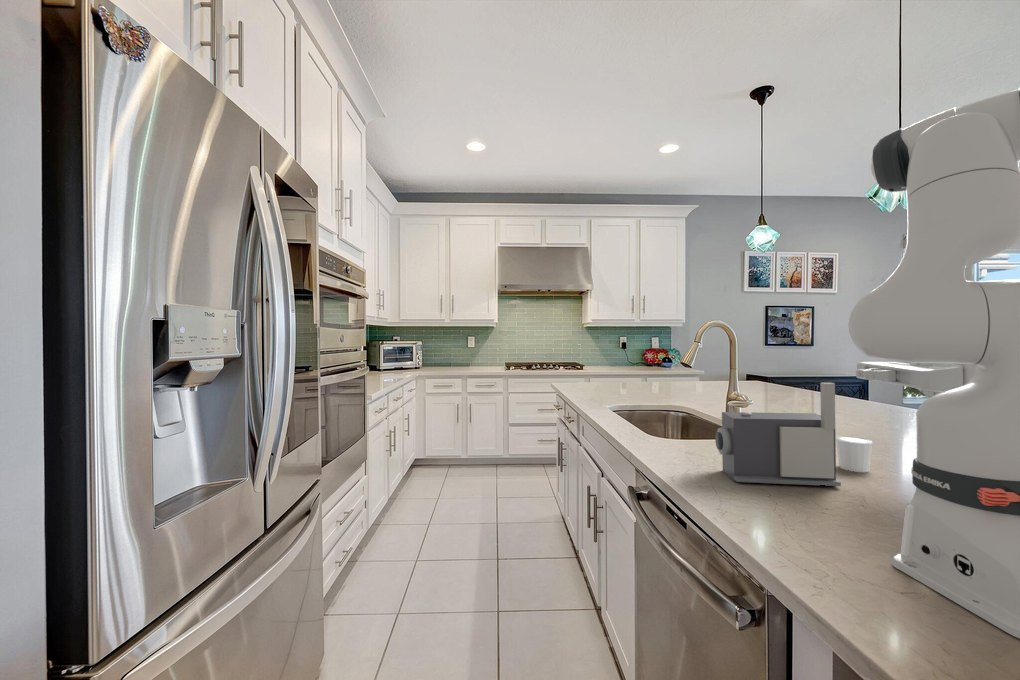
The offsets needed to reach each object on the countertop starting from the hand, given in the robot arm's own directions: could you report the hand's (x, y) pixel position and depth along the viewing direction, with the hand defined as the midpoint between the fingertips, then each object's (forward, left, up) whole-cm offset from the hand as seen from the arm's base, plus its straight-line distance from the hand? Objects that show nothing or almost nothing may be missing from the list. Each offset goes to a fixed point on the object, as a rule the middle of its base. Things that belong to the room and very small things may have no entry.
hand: (860, 374), depth 87 cm
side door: (0, +10, -22) cm, 24 cm away
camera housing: (+4, +15, -24) cm, 29 cm away
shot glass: (+14, -7, -24) cm, 29 cm away
